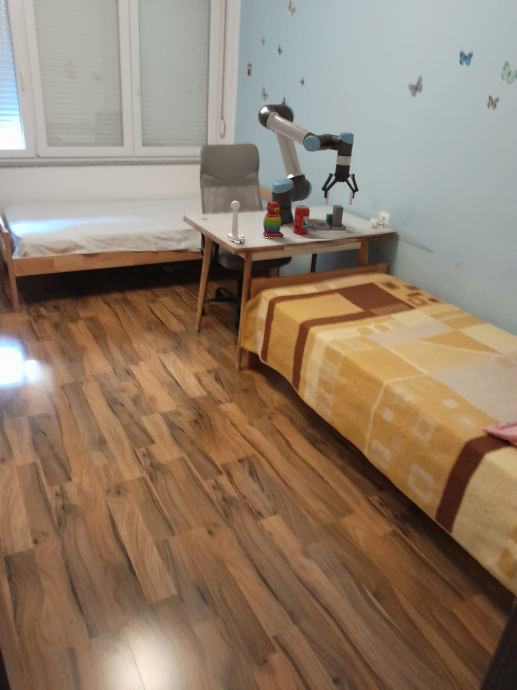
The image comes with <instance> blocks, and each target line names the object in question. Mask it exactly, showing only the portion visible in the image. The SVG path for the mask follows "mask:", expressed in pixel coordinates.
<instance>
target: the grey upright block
mask: <svg viewBox="0 0 517 690" xmlns="http://www.w3.org/2000/svg"><path fill="white" fill-rule="evenodd" d="M332 214H333V215H332V224H331V225H332V226H341V225H342V224H343V214H344V206H342V205H341V204H339V205H338V204H336V205H335V204H334V205H333V206H332Z"/></svg>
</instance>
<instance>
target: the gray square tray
mask: <svg viewBox="0 0 517 690" xmlns="http://www.w3.org/2000/svg"><path fill="white" fill-rule="evenodd" d="M309 225H310V226H311V227H312V228H313V229H314V230H315V231H316V233H348V230H331V229H330V226H329V225H328V224H327V223H326V221H323V222H322V221H316V222H315V221H313V222H311V223H309Z"/></svg>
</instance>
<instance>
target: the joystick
mask: <svg viewBox="0 0 517 690" xmlns="http://www.w3.org/2000/svg"><path fill="white" fill-rule="evenodd" d="M230 207H231V209H232V224H231V232H230V233H227V238H228V237H229V238H231V239H233V240H236V241H244V242H245V235H244V234H239V224H238V222H239V218H238V217H239V215H238V211H239V209H240V207H241V203H240V201H238V200H233V201H232V202H231V203H230Z"/></svg>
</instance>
